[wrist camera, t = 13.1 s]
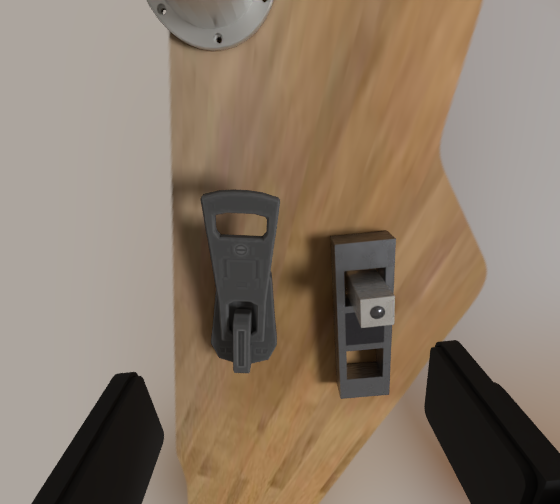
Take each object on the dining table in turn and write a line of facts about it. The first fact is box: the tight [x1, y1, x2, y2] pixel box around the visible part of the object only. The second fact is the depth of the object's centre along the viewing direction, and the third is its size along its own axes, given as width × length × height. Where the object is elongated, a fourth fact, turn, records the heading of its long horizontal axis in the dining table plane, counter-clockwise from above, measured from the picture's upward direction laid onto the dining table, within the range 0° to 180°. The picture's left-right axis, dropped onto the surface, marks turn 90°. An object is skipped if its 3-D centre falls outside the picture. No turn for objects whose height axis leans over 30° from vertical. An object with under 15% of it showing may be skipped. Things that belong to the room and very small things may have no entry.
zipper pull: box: [201, 190, 280, 373], centre depth 36 cm, size 9×7×25 cm
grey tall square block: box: [345, 268, 395, 328], centre depth 36 cm, size 4×4×8 cm
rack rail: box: [330, 231, 396, 399], centre depth 40 cm, size 24×7×3 cm, turn 6°
